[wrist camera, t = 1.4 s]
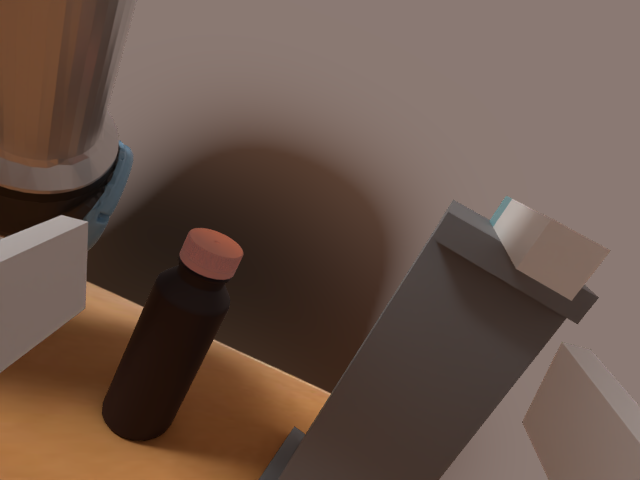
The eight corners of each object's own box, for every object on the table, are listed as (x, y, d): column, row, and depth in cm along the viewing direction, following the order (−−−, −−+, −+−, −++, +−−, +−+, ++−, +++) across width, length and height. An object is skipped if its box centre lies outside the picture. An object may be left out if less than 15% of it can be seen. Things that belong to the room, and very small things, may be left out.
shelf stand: (358, 630, 34) (623, 311, 25) (229, 523, 37) (427, 200, 27) (387, 503, 47) (568, 264, 38) (291, 431, 50) (439, 191, 41)
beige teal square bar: (571, 300, 18) (610, 250, 18) (516, 268, 19) (552, 218, 18) (515, 235, 38) (533, 210, 37) (489, 220, 39) (506, 195, 38)
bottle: (184, 427, 43) (268, 264, 37) (120, 453, 37) (208, 266, 32) (151, 380, 46) (223, 224, 41) (87, 398, 41) (161, 219, 35)
